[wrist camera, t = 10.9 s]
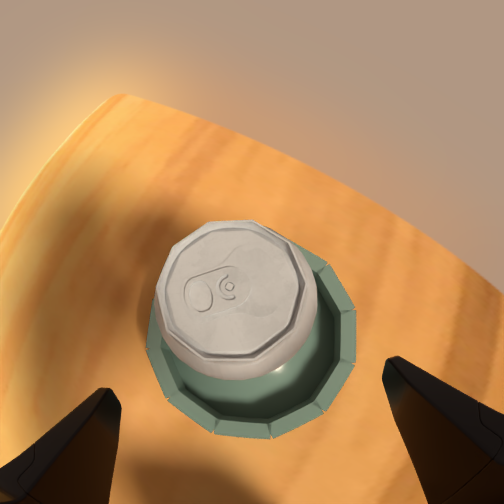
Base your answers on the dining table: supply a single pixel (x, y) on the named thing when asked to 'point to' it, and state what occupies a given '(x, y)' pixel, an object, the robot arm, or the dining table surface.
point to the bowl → (273, 383)
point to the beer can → (235, 300)
